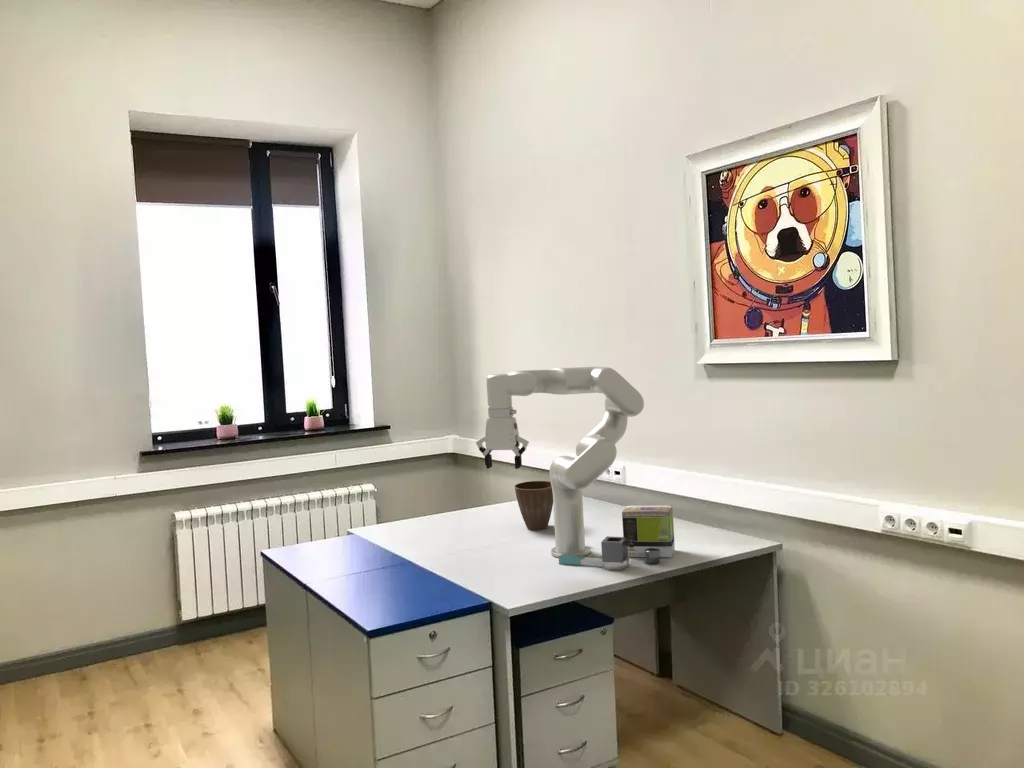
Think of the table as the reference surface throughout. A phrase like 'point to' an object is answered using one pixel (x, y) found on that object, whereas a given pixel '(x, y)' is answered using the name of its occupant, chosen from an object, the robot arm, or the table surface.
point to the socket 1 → (614, 549)
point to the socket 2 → (652, 556)
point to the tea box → (649, 529)
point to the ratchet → (592, 562)
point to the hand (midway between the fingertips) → (503, 468)
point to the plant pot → (535, 503)
